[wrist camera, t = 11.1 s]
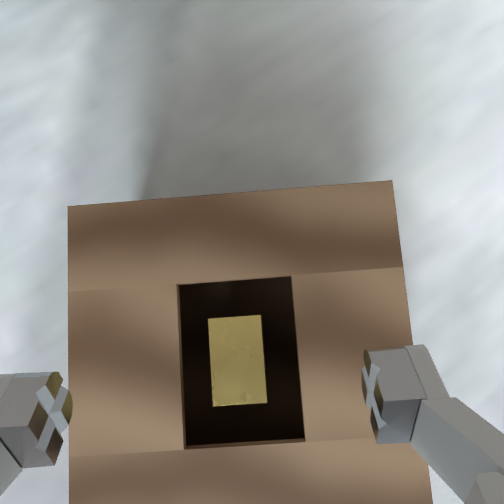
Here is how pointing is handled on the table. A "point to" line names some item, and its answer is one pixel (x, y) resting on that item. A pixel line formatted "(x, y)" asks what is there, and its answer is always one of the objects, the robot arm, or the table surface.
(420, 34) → the table surface
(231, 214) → the box
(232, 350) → the gold rectangular block
